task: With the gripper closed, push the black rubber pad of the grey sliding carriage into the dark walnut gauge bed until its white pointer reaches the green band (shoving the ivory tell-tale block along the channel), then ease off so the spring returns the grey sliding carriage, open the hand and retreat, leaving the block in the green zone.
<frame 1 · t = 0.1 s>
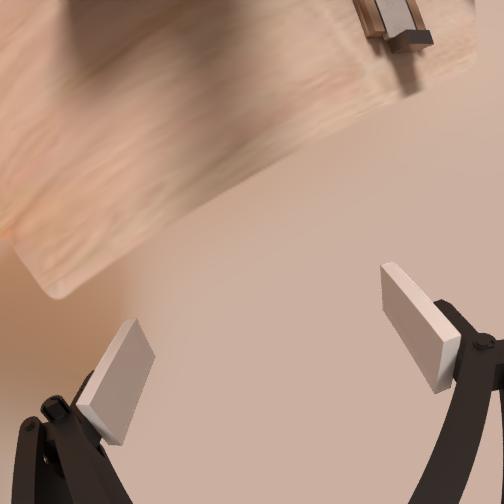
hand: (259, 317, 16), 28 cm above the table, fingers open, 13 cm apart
grey sliding carriage: (406, 9, 28), point 4 cm above the table, slide at 0.0 cm
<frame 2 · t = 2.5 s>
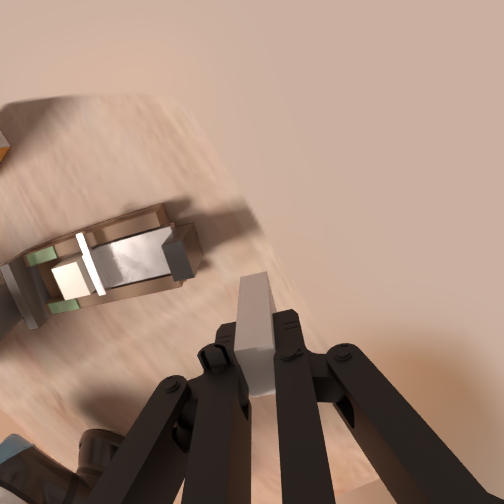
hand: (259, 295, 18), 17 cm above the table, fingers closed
gauge bed: (95, 262, 35), on the table
telltale: (85, 267, 34), point 1 cm above the table, touching gauge bed
bottle: (20, 294, 37), on the table
grey sliding carriage: (135, 251, 30), point 4 cm above the table, slide at 0.0 cm
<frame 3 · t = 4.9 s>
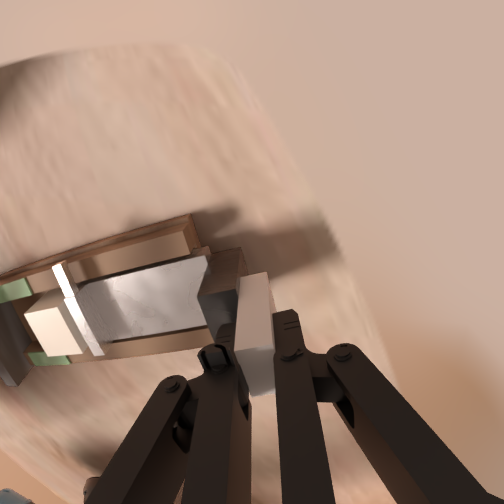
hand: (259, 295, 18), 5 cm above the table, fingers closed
gauge bed: (88, 299, 24), on the table
telltale: (74, 307, 23), point 1 cm above the table, touching gauge bed
grey sliding carriage: (147, 295, 19), point 4 cm above the table, slide at 0.2 cm, touching gripper
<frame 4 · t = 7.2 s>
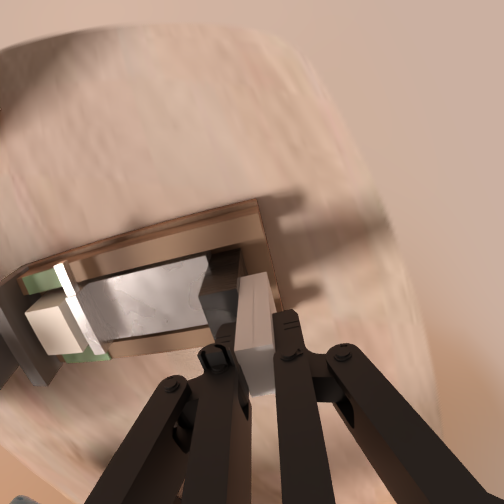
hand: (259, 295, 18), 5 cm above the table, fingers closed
gauge bed: (133, 289, 23), on the table
telltale: (74, 306, 23), point 1 cm above the table, touching gauge bed
bottle: (16, 326, 26), on the table
grey sliding carriage: (148, 294, 19), point 4 cm above the table, slide at 4.7 cm, touching gripper
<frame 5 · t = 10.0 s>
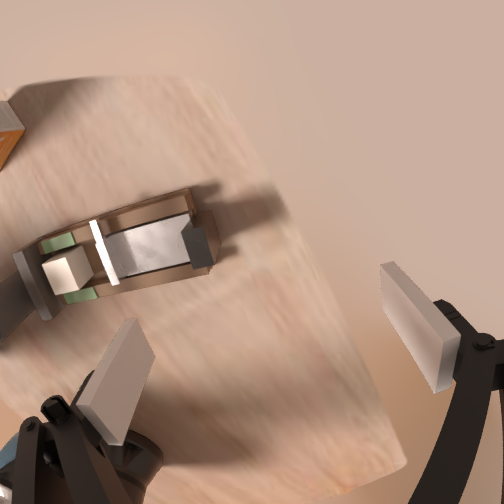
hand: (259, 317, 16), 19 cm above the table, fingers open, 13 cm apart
gauge bed: (114, 250, 35), on the table
telltale: (75, 263, 34), point 1 cm above the table, touching gauge bed
bottle: (31, 284, 37), on the table
small box: (3, 136, 29), on the table
grey sliding carriage: (151, 239, 30), point 4 cm above the table, slide at 1.1 cm
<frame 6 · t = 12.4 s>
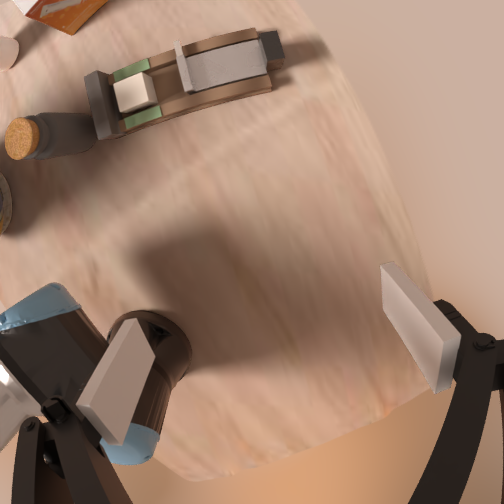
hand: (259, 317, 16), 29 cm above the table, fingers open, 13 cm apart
gauge bed: (182, 82, 37), on the table
telltale: (141, 95, 36), point 1 cm above the table, touching gauge bed
bottle: (82, 133, 39), on the table
small box: (82, 9, 31), on the table
beverage can: (10, 55, 33), on the table
grey sliding carriage: (227, 52, 32), point 4 cm above the table, slide at 1.1 cm
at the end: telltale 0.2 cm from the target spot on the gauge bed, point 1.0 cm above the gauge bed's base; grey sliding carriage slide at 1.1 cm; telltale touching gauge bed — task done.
